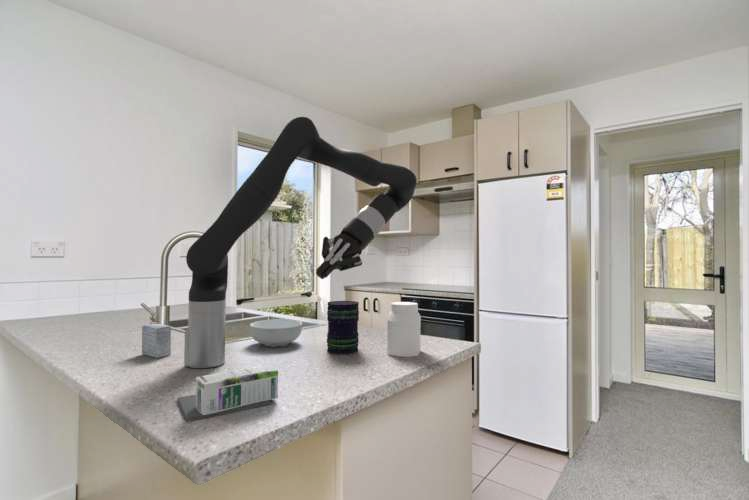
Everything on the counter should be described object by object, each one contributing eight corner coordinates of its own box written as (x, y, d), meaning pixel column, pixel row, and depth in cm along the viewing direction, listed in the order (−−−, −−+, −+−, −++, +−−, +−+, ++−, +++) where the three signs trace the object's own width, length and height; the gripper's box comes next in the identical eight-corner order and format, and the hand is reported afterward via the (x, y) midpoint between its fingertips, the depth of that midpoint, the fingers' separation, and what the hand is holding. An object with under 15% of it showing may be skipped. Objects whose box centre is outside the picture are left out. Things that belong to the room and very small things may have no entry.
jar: (391, 347, 127) (391, 300, 127) (421, 348, 125) (421, 301, 126) (385, 356, 116) (386, 305, 116) (418, 357, 114) (418, 306, 114)
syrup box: (278, 399, 79) (202, 417, 70) (266, 390, 83) (193, 406, 74) (279, 370, 79) (203, 384, 70) (266, 363, 83) (194, 376, 74)
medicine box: (171, 355, 115) (171, 325, 115) (155, 358, 111) (156, 328, 111) (156, 351, 119) (157, 323, 119) (141, 354, 115) (141, 325, 116)
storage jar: (345, 356, 115) (346, 305, 115) (320, 351, 120) (320, 302, 121) (364, 349, 123) (365, 302, 124) (340, 345, 129) (340, 300, 129)
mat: (252, 387, 87) (252, 384, 87) (270, 404, 77) (270, 401, 77) (177, 400, 79) (177, 397, 79) (186, 421, 69) (186, 418, 69)
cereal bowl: (238, 347, 126) (238, 325, 126) (269, 337, 141) (269, 317, 141) (284, 352, 120) (284, 329, 120) (311, 341, 135) (311, 320, 135)
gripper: (341, 208, 101) (295, 255, 95) (381, 229, 95) (334, 281, 89) (348, 226, 107) (305, 271, 102) (386, 246, 101) (342, 296, 95)
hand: (319, 276), depth 95 cm, fingers closed
